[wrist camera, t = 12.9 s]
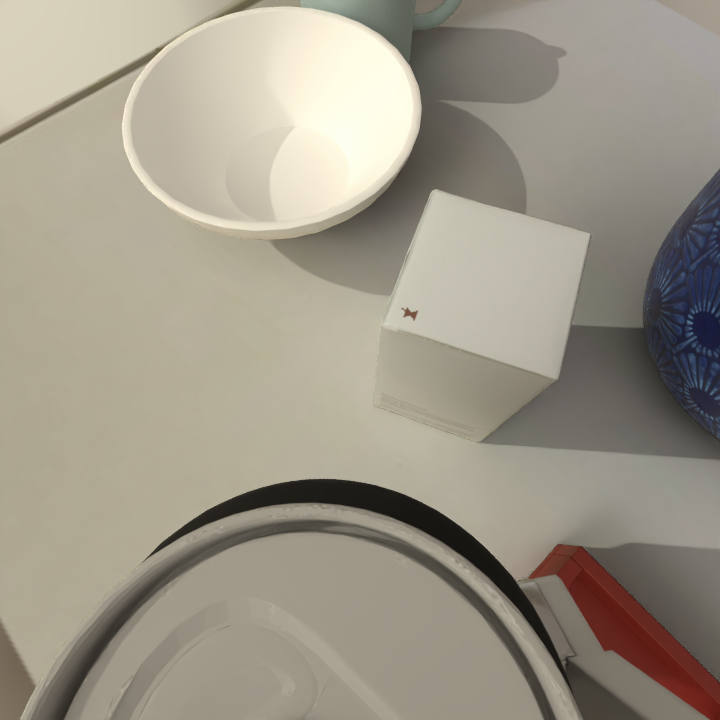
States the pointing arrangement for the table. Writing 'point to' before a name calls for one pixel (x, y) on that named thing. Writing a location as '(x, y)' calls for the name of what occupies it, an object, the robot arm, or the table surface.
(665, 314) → the planter
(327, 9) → the mug
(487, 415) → the white packaging box
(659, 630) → the tray
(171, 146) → the bowl
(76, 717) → the beverage can
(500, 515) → the table surface
